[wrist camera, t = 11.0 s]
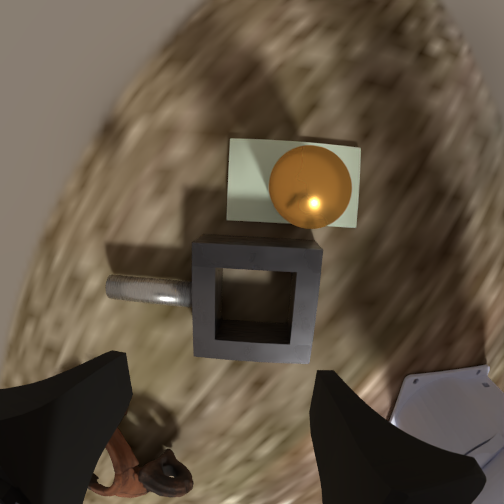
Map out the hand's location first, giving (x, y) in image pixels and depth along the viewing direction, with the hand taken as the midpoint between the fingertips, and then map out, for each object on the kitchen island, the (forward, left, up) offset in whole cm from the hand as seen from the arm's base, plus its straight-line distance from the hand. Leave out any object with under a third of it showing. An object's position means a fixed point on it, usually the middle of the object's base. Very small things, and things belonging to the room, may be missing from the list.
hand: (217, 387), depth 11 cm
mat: (-3, -8, -10) cm, 13 cm away
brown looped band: (+9, +16, -10) cm, 21 cm away
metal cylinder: (-3, -7, -10) cm, 12 cm away
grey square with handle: (+2, 0, -10) cm, 10 cm away
